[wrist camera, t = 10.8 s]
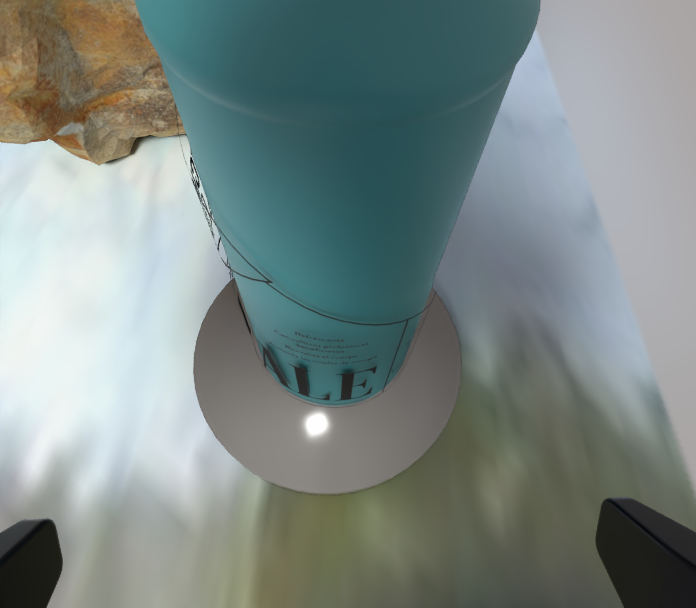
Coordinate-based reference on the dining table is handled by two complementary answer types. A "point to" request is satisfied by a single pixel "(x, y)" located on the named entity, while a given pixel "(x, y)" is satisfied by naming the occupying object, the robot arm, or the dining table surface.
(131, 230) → the dining table surface
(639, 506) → the robot arm
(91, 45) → the rough brown rock
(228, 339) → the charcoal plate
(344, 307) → the beverage bottle
